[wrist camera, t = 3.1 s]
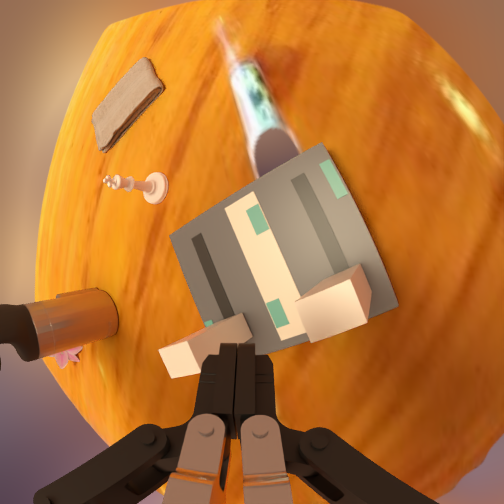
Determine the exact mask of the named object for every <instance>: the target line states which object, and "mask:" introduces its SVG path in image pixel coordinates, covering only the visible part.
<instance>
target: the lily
mask: <svg viewBox="0 0 504 504" xmlns="http://www.w3.org/2000/svg"><path fill="white" fill-rule="evenodd" d="M81 350H82V346H79V347H76V348H73V349H69V350H66V351H63V352H59V353H56V354H53V355H50V356H49V357H55V359H56V362H57V364H58V365H59V367H60V368H61V369H63V368H64V367H65V366H66V365H67V363H68V359H69V360H71V361H76V362H80V360H79V359H78V358H77V357H76V356H75V355H74V354H77V353H78V352H79V351H81Z"/></svg>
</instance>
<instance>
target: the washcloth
mask: <svg viewBox="0 0 504 504" xmlns="http://www.w3.org/2000/svg"><path fill="white" fill-rule="evenodd" d="M162 92H163V85H162V83H161V81H160V80H159V79H158V77H156V74H155V70H154V68H153V66H152V64H151V62H150V61H149V59H148V58H146V57H145V58H142V59H140V60H139V61H138V62H137V63H136V64H135V65H133V67H132V68H131V69H130V70H129V71H128V72H127V73H126V74H125V75H124V76H123V78H121V79H120V81H119V82H118V83H117V84H116V85H115V87H114V88H112V90H111V91H110V92H109V94H108V95H107V96H106V97H105V98H104V100H103V101H102V102H101V103H100V105H99V106H98V107H97V108H96V110H95V111H94V113H93V115H92V117H93V118H92V123H93V124H94V128H95V134H96V140H97V144H98V150H99V151H101V150H102V152H103V153H105V152H106V151H108V150H109V149H110V148H112V147H113V145H115V143H116V142H117V141H118V140H119V139H120V138H121V137H122V136H123V134H124V133H125V132H126V131H127V130H128V129H129V128H130V127H131V125H132V124H133V123H134V122H135V121H136V120H137V119H138V118H139V117H140V115H141V114H142V113H143V112H144V111H145V110H146V109H147V108H148V107H149V106H150V105H151V104H152V103H153V102H154V101H155V100H156V99H157V98H158V97H159V96H160V95H161V93H162Z"/></svg>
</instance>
